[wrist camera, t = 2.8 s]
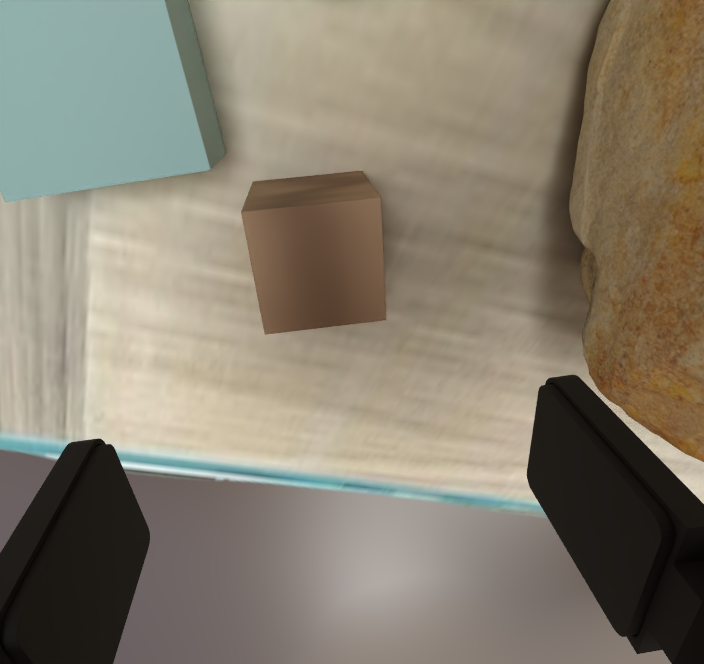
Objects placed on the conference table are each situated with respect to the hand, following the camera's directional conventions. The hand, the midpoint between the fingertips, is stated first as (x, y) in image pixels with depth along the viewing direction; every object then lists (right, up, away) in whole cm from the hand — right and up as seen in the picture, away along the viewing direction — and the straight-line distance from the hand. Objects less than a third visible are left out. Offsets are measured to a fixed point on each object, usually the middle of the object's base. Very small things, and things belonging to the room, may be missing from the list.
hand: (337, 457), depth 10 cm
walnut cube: (-2, +8, +14) cm, 17 cm away
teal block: (-10, +14, +10) cm, 20 cm away
